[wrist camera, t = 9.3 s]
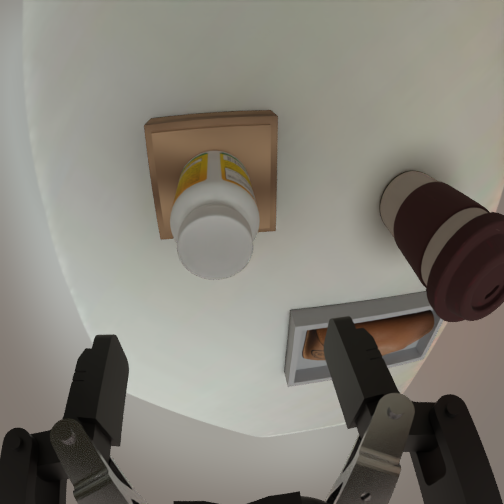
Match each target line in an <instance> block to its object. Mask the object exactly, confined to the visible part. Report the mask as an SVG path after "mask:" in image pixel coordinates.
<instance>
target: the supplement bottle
mask: <svg viewBox="0 0 504 504" xmlns="http://www.w3.org/2000/svg"><path fill="white" fill-rule="evenodd" d="M259 222H260V219H259V211H258V207H257V203H256V200H255V197H254V193H253V190H252V186H251V183H250V179H249V176H248V173H247V171H246V168H245V167H244V165H243V164H242V163H241V161H240V160H238V159H237V158H236V157H235V156H233V155H231V154H229V153H227V152H223V151H207V152H203V153H200V154H198V155H197V156H195V157H194V158H192V159H191V160H190V161H189V162H188V163H187V164H186V165H185V167H184V168H183V170H182V172H181V175H180V178H179V183H178V187H177V190H176V194H175V199H174V202H173V207H172V210H171V216H170V227H171V232H172V235H173V237H174V239H175V241H176V243H177V251H178V255H179V259H180V260H181V262H182V264H183V265H184V266H185V268H186V269H187V270H189V271H190V272H191V273H193V274H194V275H196V276H199V277H201V278H205V279H211V280H217V279H224V278H228V277H231V276H233V275H235V274H237V273H238V272H240V271H241V270H242V269H243V268H244V267H245V266H246V265H247V264H248V262H249V261H250V259H251V256H252V253H253V241H254V240H255V238H256V235H257V233H258V229H259Z"/></svg>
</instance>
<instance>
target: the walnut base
mask: <svg viewBox="0 0 504 504" xmlns="http://www.w3.org/2000/svg"><path fill="white" fill-rule="evenodd" d="M144 129H145V138H146V147H147V154H148V162H149V170H150V177H151V184H152V190H153V197H154V203H155V209H156V215H157V221H158V227H159V233H160V238H161V239H173V238H174V237H173V235H172V232H171V227H170V216H171V210H172V207H173V202H174V199H175V194H176V190H177V187H178V183H179V178H180V175H181V172H182V170H183V168H184V167H185V165H186V164H187V163H188V162H189V161H190V160H191V159H192V158H194V157H195V156H197V155H198V154H200V153H203V152H207V151H223V152H227V153H229V154H231V155H233V156H235V157H236V158H237V159H238V160H240V161H241V163H242V164H243V165H244V167H245V168H246V171H247V173H248V176H249V179H250V183H251V186H252V190H253V193H254V197H255V200H256V203H257V207H258V211H259V219H260V222H259V229H258V232H267V231H276V192H277V132H278V116H277V115H276V114H275V113H273V112H272V111H271V110H259V111H231V112H214V113H200V114H188V115H178V116H168V117H160V118H151V119H150V120H149V121H148V122H147V123H146V124H145V125H144Z"/></svg>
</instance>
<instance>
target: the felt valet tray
mask: <svg viewBox="0 0 504 504" xmlns="http://www.w3.org/2000/svg"><path fill="white" fill-rule="evenodd" d="M427 310H431V311H432V313H433V315H434V327H433V329H432V330H431V331H430V332H429V333H428V334H426V335H425V336H423V337H422V338H420V339H419V340H417V341H415V342H413V343H412V344H410V345H408V346H406V347H405V348H404V349H402V350H399V351H395V352H391V353H389V354H386V355H383V356H382V358H383V359H384V361H385V363H386V365H387V367H388V368H390V367H395V366H399V365H403V364H407V363H410V362H414V361H418V360H422V359H423V358H424V357H425V355H426V353H427V351H428V349H429V347H430V346H431V344H432V342H433V340H434V338H435V336H436V334H437V332H438V330H439V328H440V326H441V324H442V322H443V320H442V319H441V318H439V317H438V316H437V314H436V313H435V311H434V310H433V308H432V307H431V305H430V304H429V301H428V299H427V293H426V291H425V292H419V293H413V294H407V295H401V296H394V297H388V298H381V299H374V300H367V301H360V302H353V303H345V304H337V305H330V306H321V307H313V308H304V309H295V310H290V319H289V330H288V340H287V350H286V360H285V369H284V372H285V377H286V381H287V385H288V387H289V386H296V385H303V384H309V383H316V382H322V381H328V380H332V378H331V375H330V372H329V369H328V366H327V363H326V360H310V359H305V358H303V356H302V351H303V347H304V341H305V337H306V332H307V330H312V329H320V328H327V327H328V323H329V320H330V319H331V318H338V317H345V316H350V317H351V318H352V320H353V323H360V322H367V321H373V320H379V319H384V318H390V317H395V316H401V315H406V314H411V313H417V312H422V311H427Z"/></svg>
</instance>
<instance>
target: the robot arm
mask: <svg viewBox="0 0 504 504" xmlns="http://www.w3.org/2000/svg"><path fill="white" fill-rule="evenodd" d="M324 356H325V360H326V363H327V366H328V369H329V372H330V375H331V378H332V381H333V384H334V387H335V390H336V393H337V396H338V400H339V403H340V406H341V409H342V412H343V415H344V418H345V421H346V425H347V428H348V429H350V428H354V427H357V429H358V432H359V435H358V437H357V439H356V442H355V444H354V446H353V448H352V450H351V452H350V455H349V457H348V459H347V461H346V463H345V465H344V467H343V470H342V471H341V473H340V475H339V477H338V479H337V480H336V482H335V484H334V485H333V487H332V489H331V490H330V492H329V494H328V496H327V498H326V500H325V501H322V500H319V499H315V498H311V497H304V496H300V492H293V493H287V494H281V495H274V496H268V497H265V498H262V499H259V500H257V501H254V502H251V503H248V504H388V503H389V500H390V498H391V496H392V493H393V491H394V488H395V486H396V483H397V481H398V478H399V475H400V472H401V466H400V465H399V462H400V459H401V456H402V453H403V452H410V455H411V458H412V462H413V465H414V468H415V472H416V476H417V479H418V482H419V486H420V490H421V493H422V497H423V501H424V504H503V503H502V500H501V496H500V493H499V490H498V487H497V484H496V481H495V478H494V475H493V472H492V469H491V466H490V463H489V461H488V458H487V456H486V453H485V450H484V447H483V445H482V442H481V440H480V437H479V435H478V432H477V430H476V427H475V425H474V423H473V420H472V418H471V416H470V413H469V411H468V409H467V406H466V404H465V403H464V401H463V400H462V399H461V398H459V397H458V396H455V395H451V394H450V395H444V396H442V397H441V398H440V399H439V400H438V401H437V402H436V403H431V402H428V403H427V402H413V401H411V400H410V399H409V398H408V397H406V396H405V395H403V394H400V392H399V391H398V389H397V387H396V385H395V383H394V381H393V378H392V376H391V374H390V372H389V370H388V367H387V365H386V363H385V361H384V359H383V358H382V355H381V352H380V350H378V346H377V344H376V342H375V340H374V338H373V336H372V335H371V334H370V333H369V332H368V331H367V330H365V329H364V328H358V329H356V327H355V325H354V323H353V320H352V318H351V317H350V316H345V317H338V318H331V319H330V320H329V323H328V328H327V332H326V337H325V341H324ZM128 375H129V366H128V361H127V358H126V356H125V353H124V351H123V349H122V347H121V344H120V342H119V340H118V338H117V336H116V335H96V336H95V339H94V342H93V346H92V349H87V348H86V349H85V350H84V351H83V353H82V354H81V356H80V357H79V358H78V361H77V364H76V369H75V373H74V376H73V382H72V384H71V388H70V392H69V396H68V400H67V404H66V409H65V413H64V417H63V419H62V420H60V421H58V422H57V423H56V424H55V425H54V426H53V427H52V429H51V430H49V431H45V432H39V433H34V434H29V433H28V432H27V431H26V430H25V429H23V428H14V429H11V430H10V431H9V432H8V433H7V434H6V435H5V437H4V441H3V445H2V451H1V457H0V504H66V483H67V479H70V481H71V483H72V484H73V486H74V489H75V490H74V491H73V494H74V497H75V499H76V501H77V503H78V504H148V503H147V502H146V501H145V500H144V499H143V498H142V497H141V496H140V495H139V494H138V493H137V491H136V490H135V489H134V488H133V487H132V485H131V484H130V482H129V481H128V480H127V478H126V477H125V476H124V474H123V473H122V471H121V470H120V468H119V467H118V466H117V464H116V463H115V461H114V460H113V458H112V457H111V455H110V449H111V446H120V442H121V431H122V422H123V413H124V405H125V397H126V389H127V382H128ZM174 504H217V503H211V502H206V501H174Z"/></svg>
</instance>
